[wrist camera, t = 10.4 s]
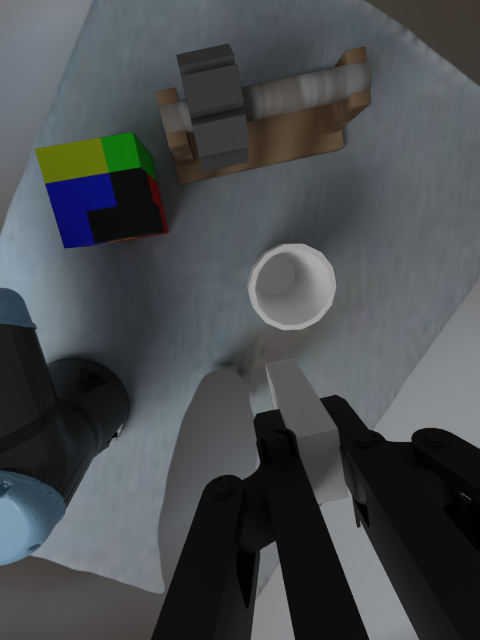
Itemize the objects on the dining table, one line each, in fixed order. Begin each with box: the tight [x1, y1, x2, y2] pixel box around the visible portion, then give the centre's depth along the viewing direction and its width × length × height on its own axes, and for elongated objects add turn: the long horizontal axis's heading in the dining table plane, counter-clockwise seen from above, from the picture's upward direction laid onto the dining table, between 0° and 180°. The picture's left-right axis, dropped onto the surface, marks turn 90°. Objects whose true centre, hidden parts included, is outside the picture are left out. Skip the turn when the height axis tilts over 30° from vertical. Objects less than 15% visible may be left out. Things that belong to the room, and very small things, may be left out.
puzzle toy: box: [35, 132, 168, 248], centre depth 40 cm, size 10×10×10 cm
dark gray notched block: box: [177, 44, 249, 172], centre depth 35 cm, size 5×10×10 cm, turn 12°
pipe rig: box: [156, 47, 372, 185], centre depth 38 cm, size 22×9×12 cm, turn 102°
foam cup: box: [247, 243, 336, 330], centre depth 42 cm, size 10×9×13 cm
